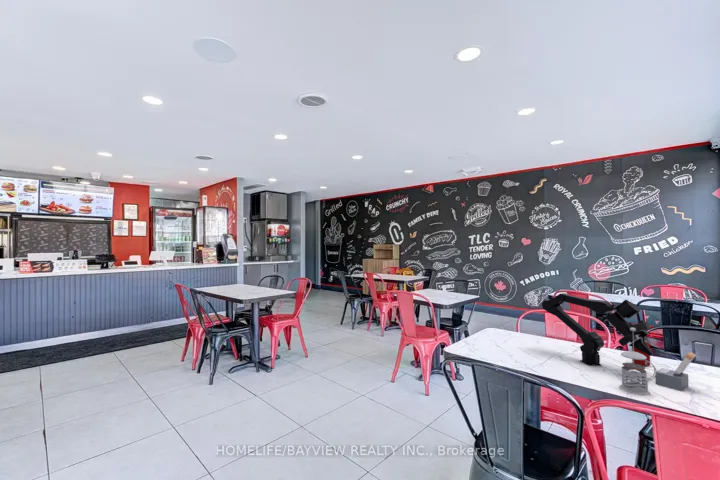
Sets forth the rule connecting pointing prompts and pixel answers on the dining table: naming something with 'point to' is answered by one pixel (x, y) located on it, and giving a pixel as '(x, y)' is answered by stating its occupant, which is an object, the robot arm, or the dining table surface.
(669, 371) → the switch box
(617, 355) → the dining table surface
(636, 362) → the beverage can
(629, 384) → the french press
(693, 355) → the lever
